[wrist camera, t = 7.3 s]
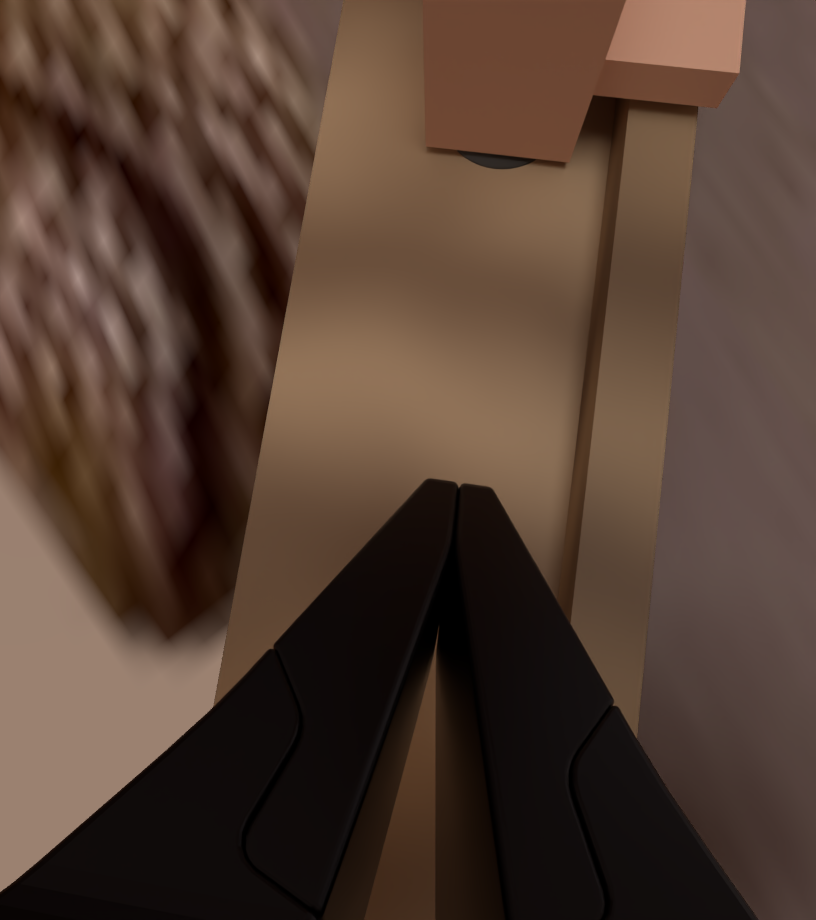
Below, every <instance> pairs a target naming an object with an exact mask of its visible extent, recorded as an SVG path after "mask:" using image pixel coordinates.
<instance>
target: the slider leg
mask: <svg viewBox="0 0 816 920" xmlns="http://www.w3.org/2000/svg"><path fill="white" fill-rule="evenodd" d="M745 3H746V0H423V45H424V92H425V140H426V147H435V148H444V149H453V150H462V151H471V152H480V153H488V154H497V155H506V156H515V157H524V158H533V159H542V160H550V161H559V162H568V163H569V162H570V159H571V156H572V153H573V151H574V148H575V145H576V142H577V139H578V136H579V133H580V131H581V128H582V125H583V122H584V119H585V116H586V113H587V111H588V108H589V105H590V102H591V99H592V96H593V95H597V96H607V97H616V98H625V99H635V100H644V101H654V102H663V103H673V104H682V105H692V106H701V107H710V108H717V107H718V106H719V104H720V103H721V101H722V99H723V98H724V96H725V95H726V93H727V92H728V90H729V89H730V87H731V85H732V84H733V82H734V81H735V79H736V78H737V76H738V75H739V71H740V60H741V49H742V37H743V26H744V15H745Z"/></svg>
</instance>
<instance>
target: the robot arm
mask: <svg viewBox="0 0 816 920" xmlns="http://www.w3.org/2000/svg"><path fill="white" fill-rule="evenodd" d="M438 628H439V629H438ZM437 634H438V638H437ZM436 640H437V648H436V708H435V920H758V918H757V917H756V915H755V914H754V913H753V911H752V910H751V908H750V907H749V906H748V904H747V903H746V901H745V900H744V899H743V897H742V896H741V894H740V893H739V892H738V890H737V889H736V887H735V886H734V884H733V883H732V882H731V880H730V879H729V877H728V876H727V875H726V873H725V872H724V870H723V869H722V868H721V866H720V865H719V863H718V862H717V861H716V859H715V858H714V856H713V855H712V854H711V852H710V851H709V849H708V848H707V846H706V845H705V843H704V842H703V841H702V839H701V838H700V836H699V835H698V833H697V832H696V830H695V829H694V827H693V826H692V824H691V823H690V822H689V820H688V819H687V817H686V816H685V814H684V813H683V811H682V810H681V808H680V807H679V805H678V804H677V802H676V801H675V799H674V798H673V797H672V795H671V794H670V792H669V791H668V789H667V787H666V786H665V784H664V783H663V781H662V779H661V778H660V776H659V774H658V773H657V771H656V769H655V768H654V766H653V765H652V763H651V761H650V760H649V758H648V756H647V755H646V753H645V751H644V750H643V748H642V746H641V745H640V743H639V742H638V740H637V738H636V737H635V735H634V733H633V731H632V730H631V728H630V726H629V724H628V722H627V721H626V719H625V717H624V715H623V714H622V712H621V710H620V708H619V707H618V706H615V705H614V706H613V704H614V699H613V697H612V695H611V693H610V692H609V690H608V688H607V686H606V685H605V683H604V681H603V679H602V678H601V676H600V674H599V672H598V671H597V669H596V667H595V665H594V664H593V662H592V660H591V658H590V657H589V655H588V653H587V651H586V650H585V648H584V646H583V645H582V643H581V641H580V639H579V638H578V636H577V634H576V632H575V631H574V629H573V627H572V625H571V624H570V622H569V620H568V618H567V617H566V615H565V613H564V611H563V610H562V608H561V606H560V604H559V603H558V601H557V599H556V598H555V596H554V594H553V592H552V591H551V589H550V587H549V585H548V584H547V582H546V580H545V578H544V577H543V575H542V573H541V571H540V570H539V568H538V566H537V564H536V563H535V561H534V559H533V557H532V556H531V554H530V552H529V551H528V549H527V547H526V545H525V544H524V542H523V540H522V538H521V537H520V535H519V533H518V531H517V530H516V528H515V526H514V524H513V523H512V521H511V519H510V517H509V516H508V514H507V512H506V510H505V509H504V507H503V505H502V504H501V502H500V500H499V498H498V497H497V495H496V493H495V491H494V490H493V489H492V488H491V487H488V486H482V485H475V484H468V483H463V484H461V485H460V486H459V489H458V484H457V483H456V482H454V481H448V480H441V479H434V478H428V479H426V480H424V481H423V482H422V483H421V485H420V486H419V487H418V488H417V489H416V490H415V491H414V492H413V493H412V494H411V495H410V496H409V498H408V499H407V500H406V501H405V502H404V503H403V504H402V505H401V506H400V507H399V508H398V509H397V511H396V512H395V513H394V514H393V515H392V516H391V517H390V518H389V519H388V520H387V521H386V523H385V524H384V525H383V526H382V527H381V528H380V529H379V530H378V531H377V532H376V533H375V534H374V536H373V537H372V538H371V539H370V540H369V541H368V542H367V543H366V544H365V545H364V546H363V547H362V549H361V550H360V551H359V552H358V553H357V554H356V555H355V556H354V557H353V558H352V559H351V561H350V562H349V563H348V564H347V565H346V566H345V567H344V568H343V569H342V570H341V571H340V572H339V574H338V575H337V576H336V577H335V578H334V579H333V580H332V581H331V582H330V583H329V584H328V586H327V587H326V588H325V589H324V590H323V591H322V592H321V593H320V594H319V595H318V596H317V597H316V599H315V600H314V601H313V602H312V603H311V604H310V605H309V606H308V607H307V608H306V609H305V610H304V612H303V613H302V614H301V615H300V616H299V617H298V618H297V619H296V620H295V621H294V622H293V624H292V625H291V626H290V627H289V628H288V629H287V630H286V631H285V632H284V633H283V634H282V635H281V637H280V638H279V639H278V640H277V641H276V642H275V643H274V645H273V648H274V649H268V650H267V651H266V652H265V653H264V655H263V656H262V657H261V658H260V659H259V660H258V661H257V662H256V663H255V664H254V665H253V667H252V668H251V669H250V670H249V671H248V672H247V673H246V674H245V675H244V676H243V677H242V678H241V679H240V680H239V681H238V682H237V683H236V684H235V685H234V686H233V687H232V688H231V689H230V690H229V691H228V693H227V694H226V695H225V696H224V697H223V698H222V699H221V700H220V701H219V702H218V703H217V704H216V705H215V706H214V707H213V708H212V709H211V710H210V711H209V712H208V713H207V714H206V715H205V716H204V717H203V718H201V719H200V720H199V721H198V722H197V723H196V724H195V725H194V726H192V727H191V728H190V729H189V730H188V731H187V732H186V733H185V734H184V735H183V736H181V737H180V738H179V739H178V740H177V741H176V742H175V743H174V744H173V745H172V746H171V747H169V748H168V749H167V750H166V751H165V752H164V753H163V754H162V755H160V756H159V757H158V758H157V759H156V760H155V761H153V762H152V763H151V764H150V765H149V766H148V767H147V768H145V769H144V770H143V771H142V772H141V773H140V774H139V775H137V776H136V777H135V778H134V779H133V780H132V781H130V782H129V783H128V784H127V785H126V786H125V787H124V788H122V789H121V790H120V791H119V792H118V793H117V794H116V795H114V796H113V797H112V798H111V799H110V800H109V801H107V802H106V803H105V804H104V805H103V806H102V807H101V808H99V809H98V810H97V811H96V812H95V813H94V814H92V815H91V816H90V817H89V818H88V819H87V820H86V821H84V822H83V823H82V824H81V825H80V826H79V827H78V828H76V829H75V830H74V831H73V832H72V833H71V834H70V835H68V836H67V837H66V838H65V839H64V840H63V841H61V842H60V843H59V844H58V845H57V846H56V847H55V848H53V849H52V850H51V851H50V852H49V853H48V854H46V855H45V856H44V857H43V858H42V859H41V860H40V861H38V862H37V863H36V864H35V865H34V866H33V867H31V868H30V869H29V870H28V871H26V872H25V873H24V874H23V875H22V876H20V877H19V878H18V879H17V880H16V881H15V882H13V883H12V884H11V885H10V886H8V887H7V888H5V889H4V890H2V891H1V892H0V920H364V918H365V914H366V910H367V906H368V903H369V899H370V895H371V891H372V888H373V884H374V880H375V876H376V873H377V869H378V865H379V861H380V857H381V854H382V850H383V846H384V842H385V839H386V835H387V831H388V827H389V824H390V820H391V816H392V812H393V808H394V805H395V801H396V797H397V793H398V790H399V786H400V782H401V778H402V775H403V771H404V767H405V763H406V759H407V756H408V752H409V748H410V744H411V741H412V737H413V733H414V729H415V726H416V722H417V718H418V714H419V710H420V707H421V703H422V699H423V695H424V692H425V688H426V684H427V680H428V677H429V673H430V669H431V665H432V660H433V656H434V652H435V646H436Z"/></svg>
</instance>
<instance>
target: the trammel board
mask: <svg viewBox="0 0 816 920" xmlns="http://www.w3.org/2000/svg"><path fill="white" fill-rule="evenodd" d="M697 114H698V106H692V105H682V104H673V103H663V102H654V101H644V100H635V99H625V98H616V97H607V96H597V95H593V96H592V99H591V102H590V105H589V108H588V111H587V113H586V116H585V119H584V122H583V125H582V128H581V131H580V133H579V136H578V139H577V142H576V145H575V148H574V151H573V153H572V156H571V159H570V162H569V163H568V162H559V161H550V160H542V159H533V158H524V157H515V156H506V155H497V154H488V153H480V152H471V151H462V150H453V149H444V148H435V147H426V140H425V92H424V45H423V0H344V1H343V6H342V11H341V17H340V22H339V28H338V33H337V39H336V44H335V49H334V55H333V60H332V66H331V71H330V77H329V82H328V87H327V93H326V98H325V104H324V109H323V115H322V120H321V125H320V131H319V136H318V142H317V147H316V153H315V158H314V163H313V169H312V174H311V180H310V185H309V191H308V196H307V201H306V207H305V212H304V218H303V223H302V228H301V234H300V239H299V245H298V250H297V256H296V261H295V266H294V272H293V277H292V283H291V288H290V294H289V299H288V304H287V310H286V315H285V321H284V326H283V332H282V337H281V342H280V348H279V353H278V359H277V364H276V370H275V375H274V380H273V386H272V391H271V397H270V402H269V408H268V413H267V418H266V424H265V429H264V435H263V440H262V446H261V451H260V456H259V462H258V467H257V473H256V478H255V484H254V489H253V494H252V500H251V505H250V511H249V516H248V522H247V527H246V532H245V538H244V543H243V549H242V554H241V560H240V565H239V570H238V576H237V581H236V587H235V592H234V598H233V603H232V608H231V614H230V619H229V625H228V630H227V636H226V641H225V646H224V652H223V657H222V663H221V668H220V674H219V679H218V684H217V690H216V695H215V701H214V706H215V705H216V704H217V703H218V702H219V701H220V700H221V699H222V698H223V697H224V696H225V695H226V694H227V693H228V691H229V690H230V689H231V688H232V687H233V686H234V685H235V684H236V683H237V682H238V681H239V680H240V679H241V678H242V677H243V676H244V675H245V674H246V673H247V672H248V671H249V670H250V669H251V668H252V667H253V665H254V664H255V663H256V662H257V661H258V660H259V659H260V658H261V657H262V656H263V655H264V653H265V652H266V651H267V650H268V649H274V648H273V645H274V643H275V642H276V641H277V640H278V639H279V638H280V637H281V635H282V634H283V633H284V632H285V631H286V630H287V629H288V628H289V627H290V626H291V625H292V624H293V622H294V621H295V620H296V619H297V618H298V617H299V616H300V615H301V614H302V613H303V612H304V610H305V609H306V608H307V607H308V606H309V605H310V604H311V603H312V602H313V601H314V600H315V599H316V597H317V596H318V595H319V594H320V593H321V592H322V591H323V590H324V589H325V588H326V587H327V586H328V584H329V583H330V582H331V581H332V580H333V579H334V578H335V577H336V576H337V575H338V574H339V572H340V571H341V570H342V569H343V568H344V567H345V566H346V565H347V564H348V563H349V562H350V561H351V559H352V558H353V557H354V556H355V555H356V554H357V553H358V552H359V551H360V550H361V549H362V547H363V546H364V545H365V544H366V543H367V542H368V541H369V540H370V539H371V538H372V537H373V536H374V534H375V533H376V532H377V531H378V530H379V529H380V528H381V527H382V526H383V525H384V524H385V523H386V521H387V520H388V519H389V518H390V517H391V516H392V515H393V514H394V513H395V512H396V511H397V509H398V508H399V507H400V506H401V505H402V504H403V503H404V502H405V501H406V500H407V499H408V498H409V496H410V495H411V494H412V493H413V492H414V491H415V490H416V489H417V488H418V487H419V486H420V485H421V483H422V482H423V481H424V480H426V479H428V478H434V479H441V480H448V481H454V482H456V483H457V484H458V489H459V486H460V485H461V484H463V483H468V484H475V485H482V486H488V487H491V488H492V489H493V490H494V491H495V493H496V495H497V497H498V498H499V500H500V502H501V504H502V505H503V507H504V509H505V510H506V512H507V514H508V516H509V517H510V519H511V521H512V523H513V524H514V526H515V528H516V530H517V531H518V533H519V535H520V537H521V538H522V540H523V542H524V544H525V545H526V547H527V549H528V551H529V552H530V554H531V556H532V557H533V559H534V561H535V563H536V564H537V566H538V568H539V570H540V571H541V573H542V575H543V577H544V578H545V580H546V582H547V584H548V585H549V587H550V589H551V591H552V592H553V594H554V596H555V598H556V599H557V601H558V603H559V604H560V606H561V608H562V610H563V611H564V613H565V615H566V617H567V618H568V620H569V622H570V624H571V625H572V627H573V629H574V631H575V632H576V634H577V636H578V638H579V639H580V641H581V643H582V645H583V646H584V648H585V650H586V651H587V653H588V655H589V657H590V658H591V660H592V662H593V664H594V665H595V667H596V669H597V671H598V672H599V674H600V676H601V678H602V679H603V681H604V683H605V685H606V686H607V688H608V690H609V692H610V693H611V695H612V697H613V699H614V704H613V706H614V705H615V706H618V707H619V708H620V710H621V712H622V714H623V715H624V717H625V719H626V721H627V722H628V724H629V726H630V728H631V730H632V731H633V733H634V735H635V737H636V738H637V732H638V722H639V712H640V701H641V691H642V681H643V671H644V660H645V650H646V640H647V629H648V619H649V609H650V598H651V588H652V578H653V567H654V557H655V547H656V537H657V526H658V516H659V506H660V495H661V485H662V475H663V464H664V454H665V444H666V434H667V423H668V413H669V403H670V392H671V382H672V372H673V361H674V351H675V341H676V330H677V320H678V310H679V300H680V289H681V279H682V269H683V258H684V248H685V238H686V227H687V217H688V207H689V197H690V186H691V176H692V166H693V155H694V145H695V135H696V124H697ZM438 629H439V628H438ZM437 638H438V634H437ZM436 648H437V640H436V646H435V652H434V656H433V660H432V665H431V669H430V673H429V677H428V680H427V684H426V688H425V692H424V695H423V699H422V703H421V707H420V710H419V714H418V718H417V722H416V726H415V729H414V733H413V737H412V741H411V744H410V748H409V752H408V756H407V759H406V763H405V767H404V771H403V775H402V778H401V782H400V786H399V790H398V793H397V797H396V801H395V805H394V808H393V812H392V816H391V820H390V824H389V827H388V831H387V835H386V839H385V842H384V846H383V850H382V854H381V857H380V861H379V865H378V869H377V873H376V876H375V880H374V884H373V888H372V891H371V895H370V899H369V903H368V906H367V910H366V914H365V918H364V920H435V708H436ZM214 706H213V707H214Z"/></svg>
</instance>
